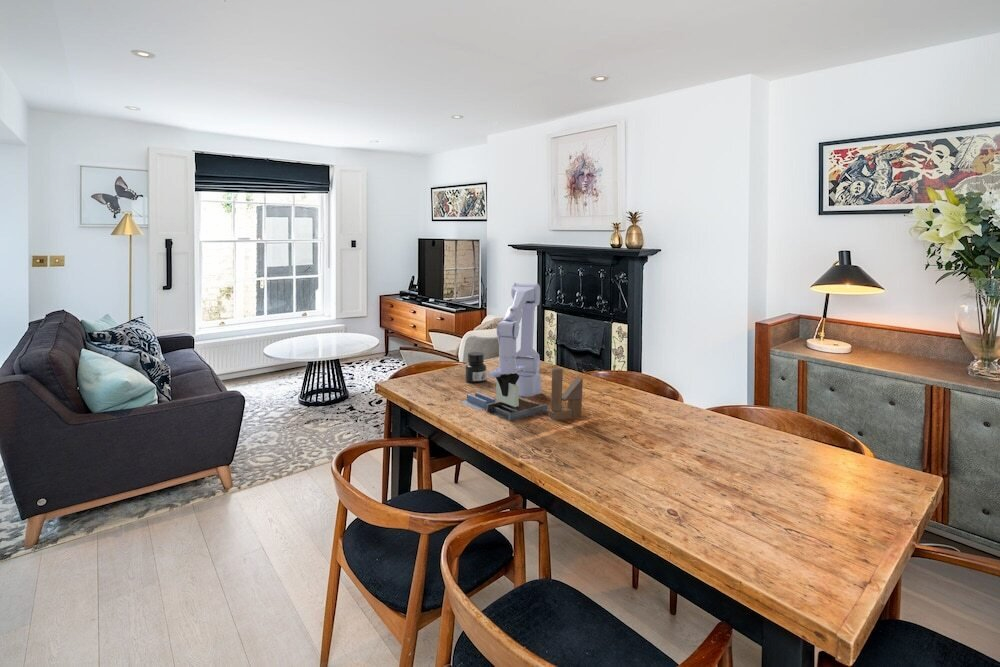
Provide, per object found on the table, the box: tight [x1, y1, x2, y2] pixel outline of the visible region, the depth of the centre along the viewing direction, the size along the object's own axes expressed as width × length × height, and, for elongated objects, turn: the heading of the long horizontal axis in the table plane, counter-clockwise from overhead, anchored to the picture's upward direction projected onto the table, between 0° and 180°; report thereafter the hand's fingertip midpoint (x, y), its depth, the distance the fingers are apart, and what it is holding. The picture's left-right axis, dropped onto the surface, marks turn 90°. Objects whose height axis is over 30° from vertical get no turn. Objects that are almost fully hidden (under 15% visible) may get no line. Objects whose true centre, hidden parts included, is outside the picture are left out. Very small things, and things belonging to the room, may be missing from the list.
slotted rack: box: [485, 396, 549, 423], centre depth 185 cm, size 17×13×4 cm
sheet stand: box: [459, 391, 496, 411], centre depth 194 cm, size 10×12×4 cm
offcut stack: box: [515, 396, 540, 410], centre depth 187 cm, size 4×8×4 cm, turn 39°
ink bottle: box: [465, 351, 487, 384], centre depth 227 cm, size 10×9×12 cm
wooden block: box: [548, 367, 584, 421], centre depth 179 cm, size 4×11×18 cm, turn 112°
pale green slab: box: [495, 379, 520, 407], centre depth 181 cm, size 2×10×7 cm, turn 39°
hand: (507, 395), depth 181 cm, fingers closed on pale green slab, 2 cm apart
